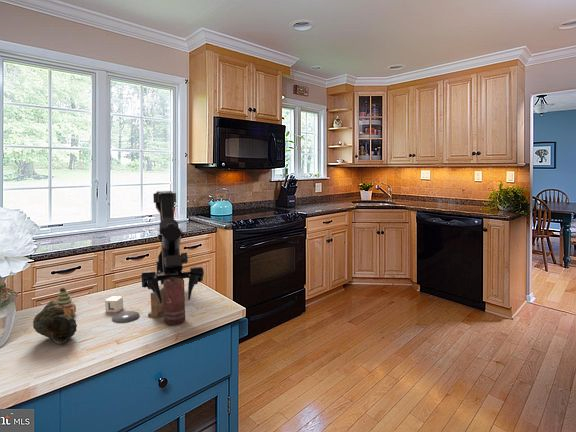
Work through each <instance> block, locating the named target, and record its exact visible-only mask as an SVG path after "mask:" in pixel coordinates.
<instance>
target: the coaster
mask: <svg viewBox="0 0 576 432" xmlns="http://www.w3.org/2000/svg"><path fill="white" fill-rule="evenodd" d="M139 317H140V313H139V312H138V311H134V310H126V311H122V312H120V311H119V312H116V313H115V314H113V315H112V317H111V320H112V322H114V323H120V324H121V323H129V322H132V321H135V320H137V319H138V318H139Z"/></svg>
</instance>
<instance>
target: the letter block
mask: <svg viewBox="0 0 576 432" xmlns="http://www.w3.org/2000/svg"><path fill="white" fill-rule="evenodd" d="M104 307H105V312H106V313H119V312H120V311H121V310H122V309H123V308H124V297H123V296H119V295H118V296H117V295H116V296H115V295H114V296H112V295H111V296H110V297H108V298H106V299H105V300H104Z"/></svg>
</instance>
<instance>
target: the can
mask: <svg viewBox="0 0 576 432" xmlns="http://www.w3.org/2000/svg"><path fill="white" fill-rule="evenodd" d="M163 287H164V311H163V316H164V324H166V325H168V326H179V325H181V324H183V323H184V322H185V321H186V301H185V300H186V299H185V298H186V297H185V280H184V279H183V277H180V276H171V277H167V278H165V279H164V282H163Z"/></svg>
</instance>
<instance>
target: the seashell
mask: <svg viewBox="0 0 576 432" xmlns="http://www.w3.org/2000/svg"><path fill="white" fill-rule="evenodd" d="M51 300H52V301H51ZM51 300H50V301H49V302H48V303H47V304H46V305H45V306H44V307H43V309H42V310H41V311H40V312H38V313H37V314H36V315H35V316H34V319H33V321H32V324H33V325H32V327H33V329H34V330H35V332H36V333H37V334H40V335H41V336H43V337H47V338H49V339H52V340H53V342H54V343H55V344H58V345H61V344H64V343H65V342H67V341H68V340H70V339H71V338H72V337H73V336H74V335H75V333H76V332H77V331H78V330H77V327H78V324H77V320H76V319H75V318H74V317H73V318H72V317H71V316H68V315H64V313H65V312H64V308H62V307H61V306H59V305H58V304H57V303H55V302H54V301H53V299H51Z"/></svg>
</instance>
